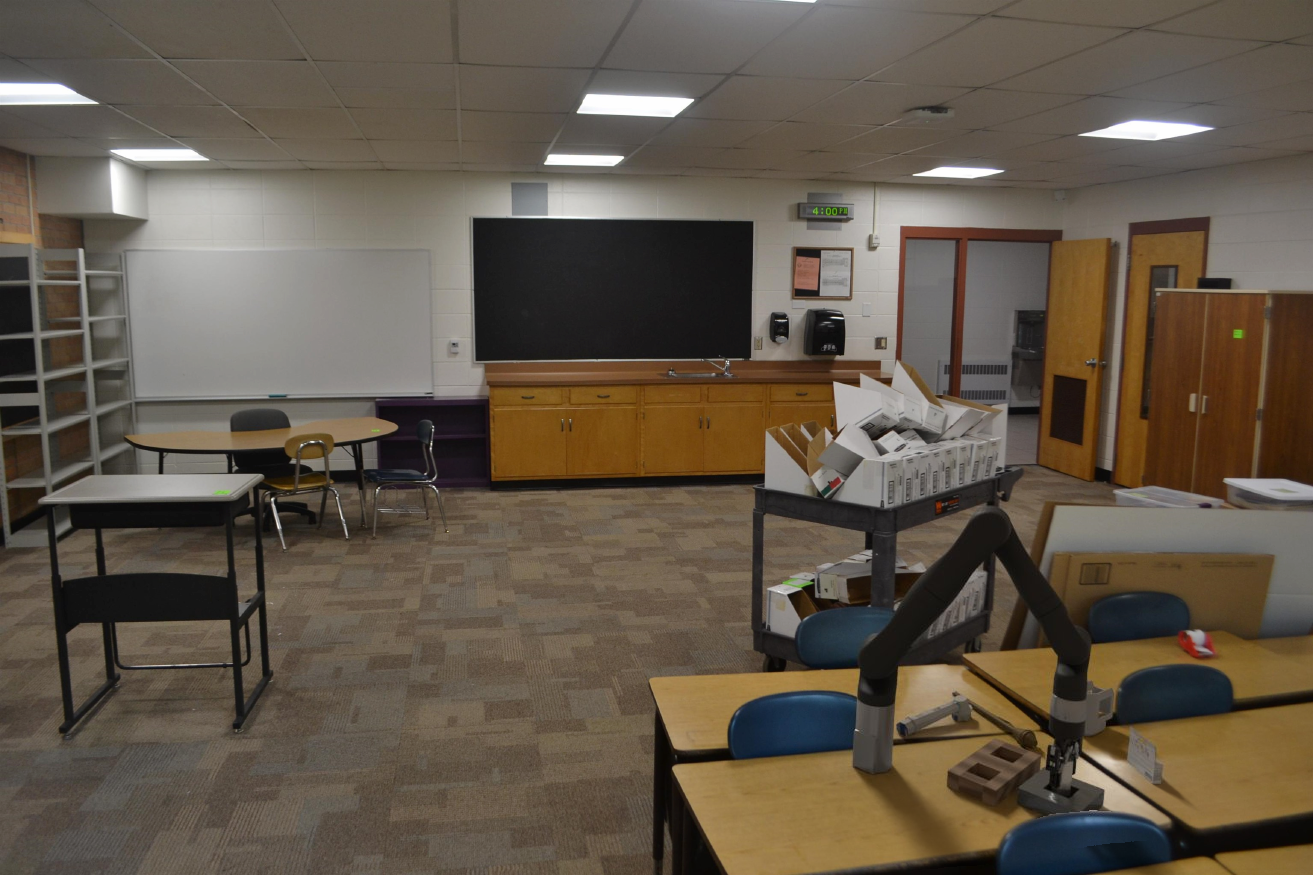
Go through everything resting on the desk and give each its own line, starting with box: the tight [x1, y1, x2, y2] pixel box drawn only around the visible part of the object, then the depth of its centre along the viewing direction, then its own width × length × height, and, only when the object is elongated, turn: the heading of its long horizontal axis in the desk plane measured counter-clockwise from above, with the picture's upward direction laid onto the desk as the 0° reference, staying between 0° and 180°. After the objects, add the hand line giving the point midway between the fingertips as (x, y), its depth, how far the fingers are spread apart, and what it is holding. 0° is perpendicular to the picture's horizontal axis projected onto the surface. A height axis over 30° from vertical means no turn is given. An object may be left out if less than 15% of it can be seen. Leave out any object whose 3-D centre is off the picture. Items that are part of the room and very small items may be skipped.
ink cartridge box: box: [1126, 726, 1164, 785], centre depth 227 cm, size 2×11×10 cm, turn 4°
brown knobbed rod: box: [951, 690, 1038, 748], centre depth 254 cm, size 5×35×5 cm
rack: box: [946, 737, 1042, 807], centre depth 224 cm, size 24×12×4 cm, turn 134°
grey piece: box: [895, 694, 973, 737], centre depth 252 cm, size 5×7×25 cm
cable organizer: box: [1084, 679, 1115, 737], centre depth 249 cm, size 7×13×12 cm, turn 125°
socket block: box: [1016, 766, 1105, 816], centre depth 213 cm, size 14×14×4 cm
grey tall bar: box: [1052, 757, 1073, 798], centre depth 212 cm, size 4×4×11 cm
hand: (1062, 779), depth 212 cm, fingers open, 8 cm apart
